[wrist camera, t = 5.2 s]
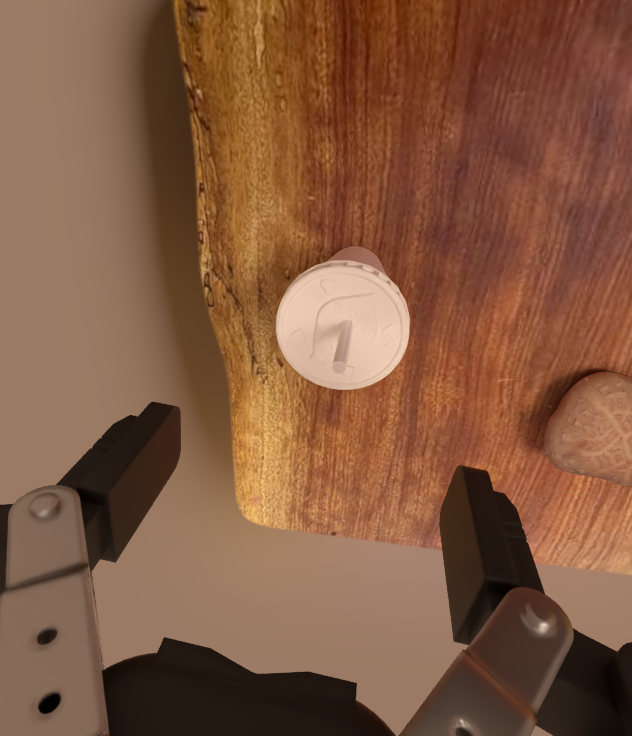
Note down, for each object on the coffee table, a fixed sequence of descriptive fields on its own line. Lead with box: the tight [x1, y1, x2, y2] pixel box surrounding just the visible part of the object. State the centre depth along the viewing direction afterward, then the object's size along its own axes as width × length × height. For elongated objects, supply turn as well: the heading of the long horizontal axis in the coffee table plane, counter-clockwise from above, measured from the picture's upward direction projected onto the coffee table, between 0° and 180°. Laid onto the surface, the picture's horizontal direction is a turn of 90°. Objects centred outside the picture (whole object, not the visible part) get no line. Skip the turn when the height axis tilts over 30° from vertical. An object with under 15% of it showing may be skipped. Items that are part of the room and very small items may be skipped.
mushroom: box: [543, 372, 632, 487], centre depth 30 cm, size 8×6×8 cm
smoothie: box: [276, 246, 410, 390], centre depth 23 cm, size 6×6×14 cm
